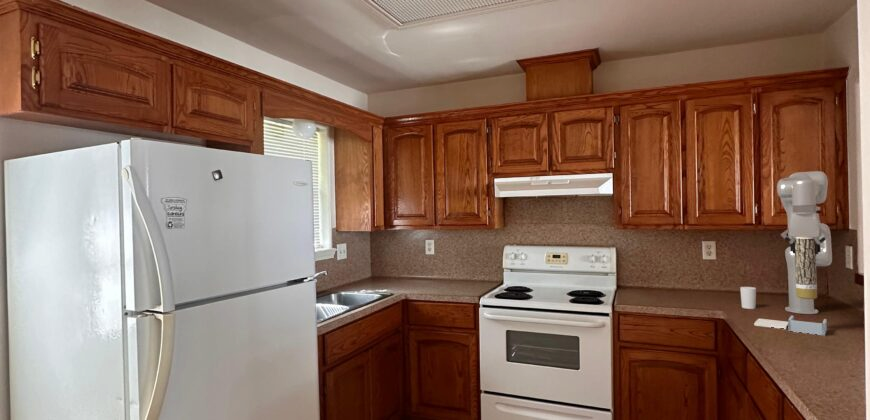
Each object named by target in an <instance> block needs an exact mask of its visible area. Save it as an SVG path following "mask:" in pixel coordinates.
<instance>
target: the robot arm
mask: <svg viewBox="0 0 870 420" xmlns="http://www.w3.org/2000/svg"><path fill="white" fill-rule="evenodd" d="M828 181H829V180H828V176H827V174H826V173H824V171H821V170H820V171H819V170H818V171H815V170H814V171H800V172H793V173H792V174H790V175H789V176H788V177H784V178H780V179H779V180H778V182H777V185H776V192H777V196H778V197H779V198H780V202H781V204H782V207H783V209H784V210H785V212H786V216H787V229H785V230H784V231H783V232H782V233H780V236H781V237H782V238H783V239H784V240H785V241H786V242H788V243H789V244H790V245H789V246H788V247H787V248H786V249H785V251H784V255H785V260H786V261H785V262H786V266H787V279H788V282H787V283H788V306H786V307H785V308H784V310H785V311H786V312H789V313H793V314H800V315H801V314H804V315H815V314H818V313H819V310H818V309H816V308H815V306H814V305H815V303H814V302H815V299H802V298H798V297H797V296H796V273H795V238H796V237H813V238H814V240H815V241H816V245H815V254H816V267H828V266H830V265H831V264H832V262H833V252H832V236H831V230H830V227H829V226H828V225H827V224H825V223H822V222H821V220H820V214H819V213H818V211H821V206H817V205H816V204H823V203H825V201H826V200H827V195H828V185H829V182H828ZM787 235H788V236H787Z"/></svg>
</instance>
